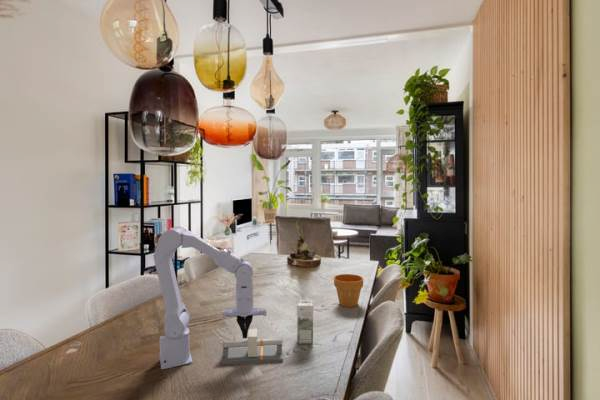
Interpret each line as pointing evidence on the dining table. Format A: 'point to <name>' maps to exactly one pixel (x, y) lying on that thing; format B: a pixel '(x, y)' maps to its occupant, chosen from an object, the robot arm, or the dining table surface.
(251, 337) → the collar
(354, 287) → the flower pot
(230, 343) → the pipe stand
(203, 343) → the dining table surface
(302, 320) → the syrup box
